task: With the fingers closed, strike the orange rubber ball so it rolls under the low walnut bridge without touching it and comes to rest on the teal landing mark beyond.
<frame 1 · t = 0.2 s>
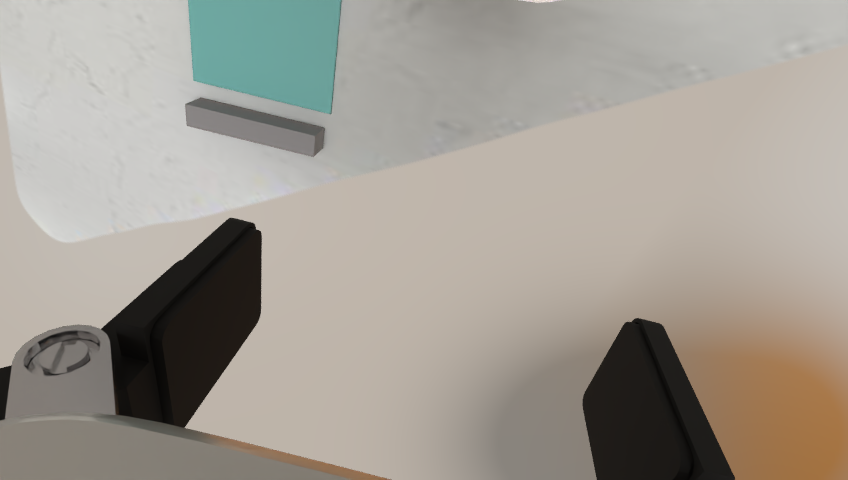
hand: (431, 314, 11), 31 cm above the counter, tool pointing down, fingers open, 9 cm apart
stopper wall: (262, 123, 43), on the counter
landing mark: (263, 20, 38), on the counter
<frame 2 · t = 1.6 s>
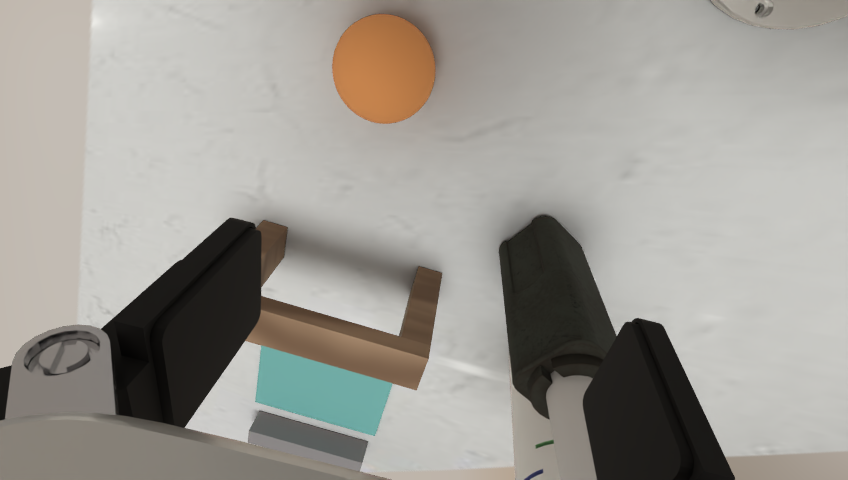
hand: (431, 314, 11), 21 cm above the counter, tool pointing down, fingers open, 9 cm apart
bridge: (350, 261, 37), on the counter
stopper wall: (312, 432, 49), on the counter
landing mark: (325, 375, 44), on the counter
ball: (384, 70, 27), on the counter
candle: (539, 250, 35), on the counter
cylindrical container: (549, 357, 40), on the counter
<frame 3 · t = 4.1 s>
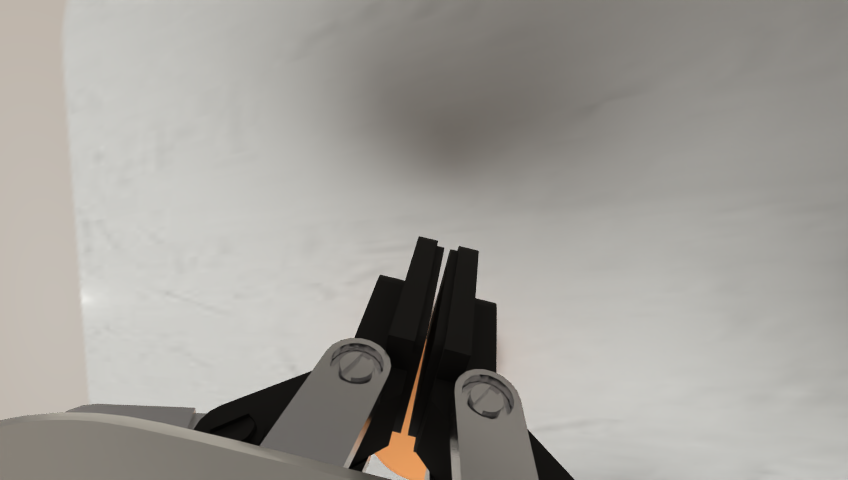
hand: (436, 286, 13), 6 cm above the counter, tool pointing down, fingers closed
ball: (428, 407, 20), on the counter
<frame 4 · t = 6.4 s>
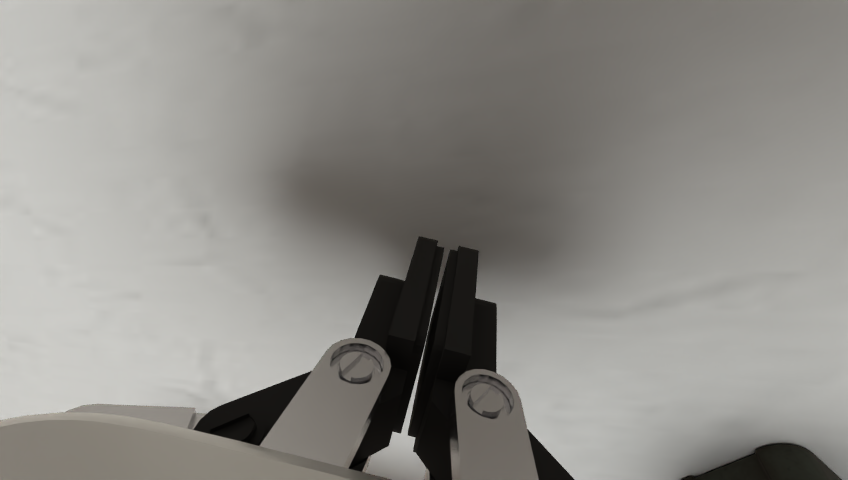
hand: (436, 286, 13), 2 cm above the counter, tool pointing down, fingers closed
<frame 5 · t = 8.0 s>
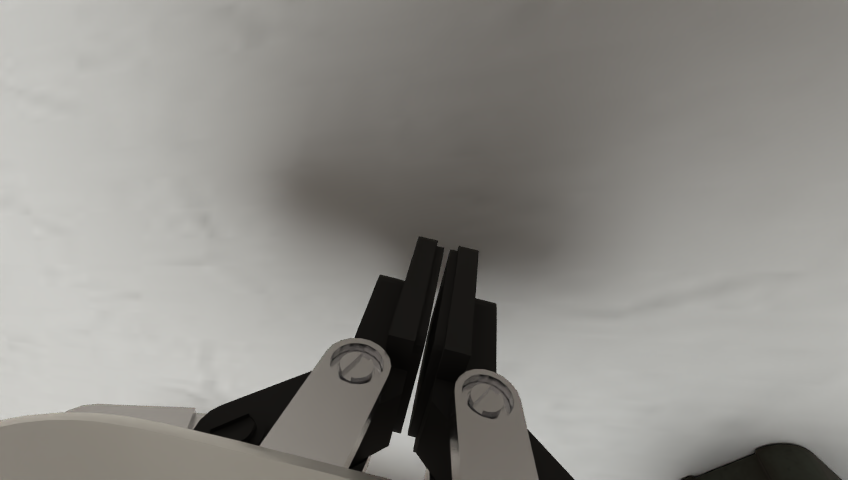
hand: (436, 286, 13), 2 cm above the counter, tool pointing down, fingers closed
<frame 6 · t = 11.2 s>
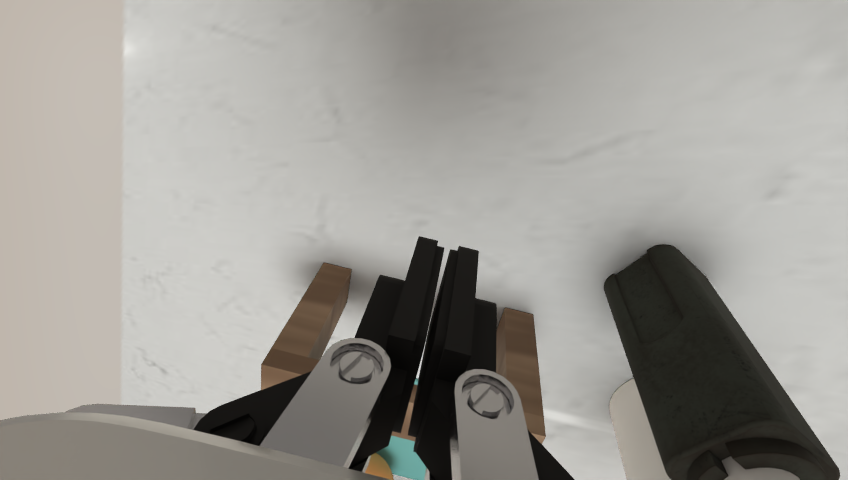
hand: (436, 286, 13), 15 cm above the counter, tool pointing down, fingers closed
bridge: (423, 304, 32), on the counter
landing mark: (392, 426, 39), on the counter
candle: (654, 284, 29), on the counter
cylindrical container: (658, 404, 34), on the counter
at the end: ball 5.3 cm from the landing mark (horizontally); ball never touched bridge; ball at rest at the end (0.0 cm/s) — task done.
